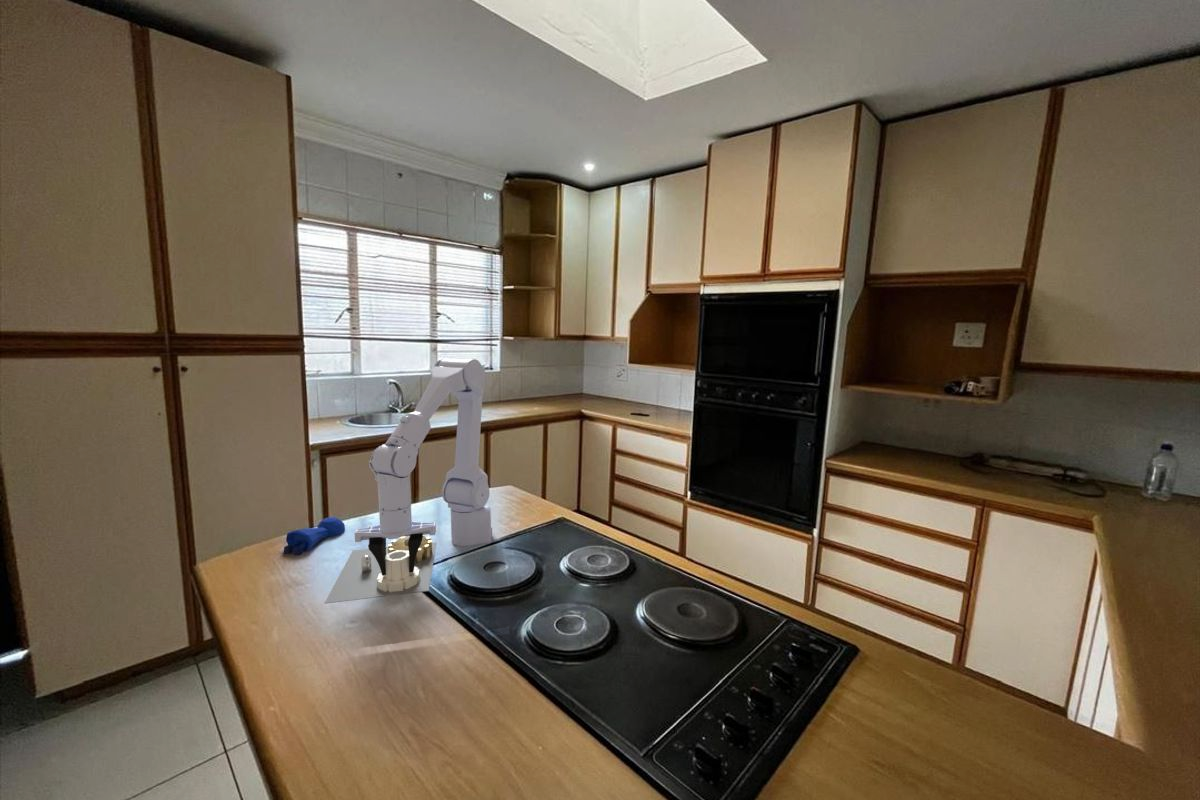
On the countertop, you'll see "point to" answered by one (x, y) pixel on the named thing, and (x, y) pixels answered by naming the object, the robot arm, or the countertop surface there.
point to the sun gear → (402, 544)
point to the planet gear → (397, 573)
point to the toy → (313, 535)
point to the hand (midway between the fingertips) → (398, 571)
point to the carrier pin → (366, 564)
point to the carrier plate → (373, 578)
